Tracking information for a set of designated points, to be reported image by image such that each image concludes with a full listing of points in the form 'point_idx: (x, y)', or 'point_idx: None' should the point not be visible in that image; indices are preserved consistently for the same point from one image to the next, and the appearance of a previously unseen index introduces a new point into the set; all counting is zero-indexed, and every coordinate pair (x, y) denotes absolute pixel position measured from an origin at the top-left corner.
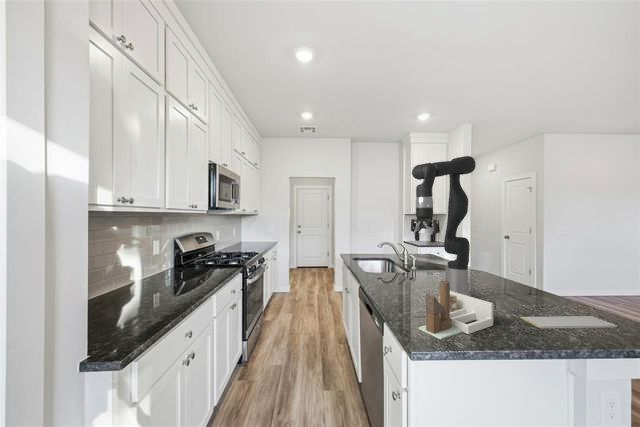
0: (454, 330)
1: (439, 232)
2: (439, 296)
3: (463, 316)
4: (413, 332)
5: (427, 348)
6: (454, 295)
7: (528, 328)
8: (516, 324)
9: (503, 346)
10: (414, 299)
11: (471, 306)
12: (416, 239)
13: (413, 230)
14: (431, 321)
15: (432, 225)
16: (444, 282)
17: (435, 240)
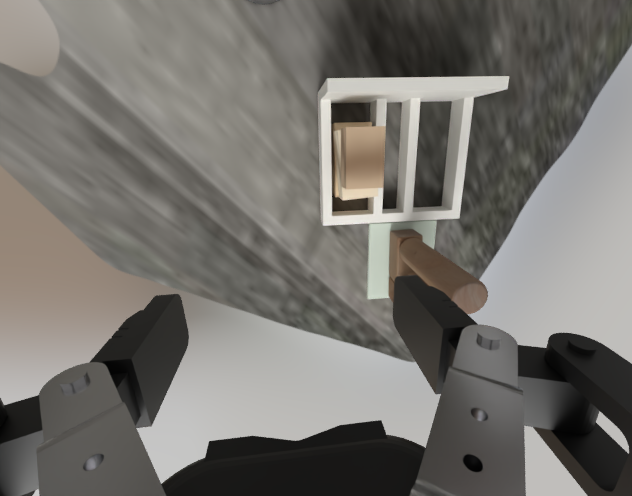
0: (425, 235)
1: (584, 337)
2: (349, 188)
3: (415, 164)
4: (374, 320)
5: None
6: (376, 126)
7: (532, 4)
8: (501, 5)
9: (521, 196)
10: (170, 127)
11: (416, 95)
12: (184, 351)
13: (29, 470)
14: None
15: (524, 468)
16: (476, 308)
17: (440, 291)
